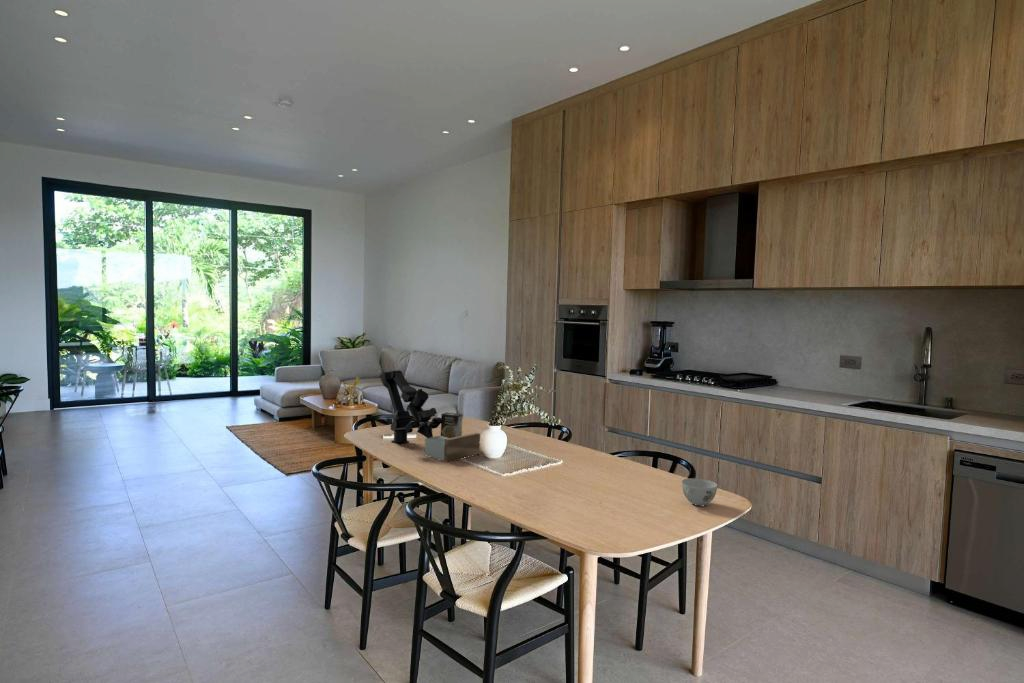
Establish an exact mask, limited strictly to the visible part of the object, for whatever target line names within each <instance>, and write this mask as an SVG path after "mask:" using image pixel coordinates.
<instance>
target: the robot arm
mask: <svg viewBox="0 0 1024 683" xmlns="http://www.w3.org/2000/svg"><path fill="white" fill-rule="evenodd" d="M380 381H381V383H382V385H383V387H385V388H386V389H387V391H388V394H389V399H390V402H391V404H392V408H393V409H392V410H393V412H394V415H393V418H392V419H393V421H392V423H391V424H390V430H391V431H393V439H392V440H391V443H394V444H398V445H403V444H405V443H406V442H407V443H409V442H410V441H409V440H408V434H410V433H412V432H413V431H414V430H413V429H417V431H416V433H419V434H420V435H422V436H424V437H425V438H431V437H434V435H433V429H437V428H438V427H439V426H441V423H442V419H441V416H440V417H435V416H436V415H437V413H438V412H437V409H436V407H431V408H429V409H426V410H425V409H424V408H423V407H424V406H425V404H426V402H427V401H428V399H429V393H428V392H426V391H425V390H423V389H422V388H418V389H416V388H415V387H413V386H411V385H410V384H409V382H408V381H407V379H406V378H405V376H404V375H403V372H402V370H399V369H397V370H391V371H383V372H382V374H380ZM399 389H400V391H401V395H400V392H399ZM401 398H402V399H401ZM402 401H403V402H402ZM403 403H408V404H407V405H406V406H407V407H406V410H405V408H404V406H403ZM411 416H412V417H411ZM432 417H433V418H432ZM431 419H432V420H431Z"/></svg>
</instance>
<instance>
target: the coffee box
mask: <svg viewBox="0 0 1024 683" xmlns="http://www.w3.org/2000/svg"><path fill="white" fill-rule="evenodd" d="M463 417H464V416H463V414H462V413H457V412H456V413H455V412H448V411H447V412H443V413H441V416H440V418H441V419H442V423H441V424H440V436H443V437H447V438H453V437H458V436H463V435H462V434H463Z"/></svg>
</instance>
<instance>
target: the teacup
mask: <svg viewBox="0 0 1024 683" xmlns="http://www.w3.org/2000/svg"><path fill="white" fill-rule="evenodd" d="M681 489H682V492H683V494H684V496H685V498H686V499H687V501H688V502H689V503H690V504H691V503H692V504H696V505H707V506H708V504H710V503H711V502H713V500H714V498H715V497H716V494H717V491H718V483H716V482H714V481H712V480H709V479H704V478H703V479H702V478H691V477H690V478H684V479H682V480H681ZM692 504H691V505H692Z"/></svg>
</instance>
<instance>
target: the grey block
mask: <svg viewBox="0 0 1024 683" xmlns="http://www.w3.org/2000/svg"><path fill="white" fill-rule="evenodd" d="M445 439H448V438H447V437H443V436H441V435H438V436H437V435H435V436H433V437H431V438H427V437H425V439H424V442H425V443H424V446H425V447H424V456H425V455H427V456H426V457H428V456H430V457H429V458H431V457H433V458H432V459H434V458H436V459H435V460H438V459H440V460H439V461H441V460H443V461H442V462H445V461H444V444H445Z"/></svg>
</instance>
